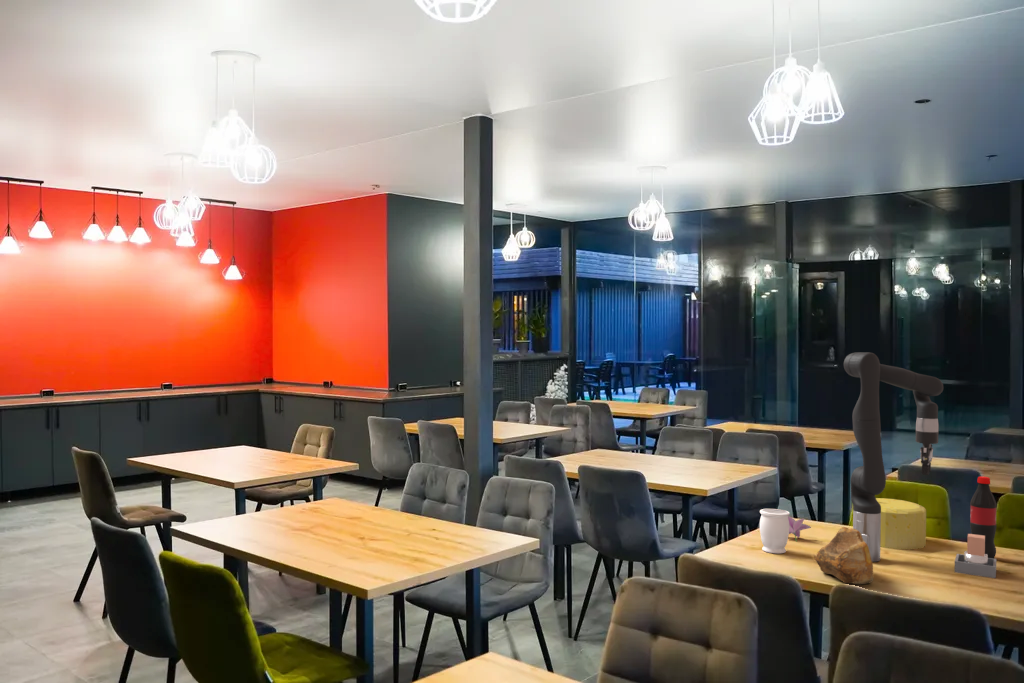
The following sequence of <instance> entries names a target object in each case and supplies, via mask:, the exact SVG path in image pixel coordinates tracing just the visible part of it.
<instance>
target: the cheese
mask: <svg viewBox="0 0 1024 683" xmlns="http://www.w3.org/2000/svg"><path fill="white" fill-rule="evenodd" d="M875 498H876V500H877V501H878V503H879V504H880V505H881V540H880V548H884V549H893V550H919V549H922V547H923V548H925V547H926V546H927V544H926V542H927V509H926V508H925V507H924V506H922V505H919V504H918V503H915V502H911V501H907V500H902V499H896V498H883V497H881V498H878V497H875ZM924 546H925V547H924ZM918 548H919V549H918Z"/></svg>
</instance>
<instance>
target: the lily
mask: <svg viewBox="0 0 1024 683" xmlns="http://www.w3.org/2000/svg"><path fill="white" fill-rule="evenodd" d="M788 520H789V535H790V534H793V536H794V538H795V542H798V541H797V538H800V536H801V531H803V530H808V529H811V528H812V527H811V526H810V525H808V524H806V523H803V522H804V520H805V518H800V519H797V520H796V519H795V518H794V517H792V516H790V515H789V516H788Z"/></svg>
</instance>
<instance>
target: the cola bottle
mask: <svg viewBox="0 0 1024 683" xmlns="http://www.w3.org/2000/svg"><path fill="white" fill-rule="evenodd" d="M990 485H991V477H988V476H983V475H982V476H978V477H977V488H976V490H975V492H974V493H973V495H972V498H971V500H970V501H969V502H970V516H969V518H970V522H969V527H970V534H975V535H983V536H985V553H986V554H987V555H988V558H993V559H995V558H996V555H997V547H996V545H995V537H996V536H995V535H996V531H997V502H996V499H995V497H994V494H993V492H992V491H991V487H990Z"/></svg>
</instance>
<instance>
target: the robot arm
mask: <svg viewBox="0 0 1024 683" xmlns="http://www.w3.org/2000/svg"><path fill="white" fill-rule="evenodd" d="M843 368H844V371H845V372H846V374H848V376H851V377H854V378H859V379H860V394H859V397H858V398H857V399H858V400H856V404H855V406H854V408H853V410H852V432H853V435H854V438H855V441H856V443H857V445H858V447H859V449H860V452H861V455H862V456H861V457H862V465H863V466H862V465H861V466H858V467H856V468H854V469H853V472H852V473H851V476H850V500H851V504H852V506H853V509H852V510H853V511H852V512H853V513H852V515H853V516H852V517H853V518H852V519H853V520H852V529H856V530H858V531H859V532H860V533H861V535H862V538H863V540H864V541H865V543H866V544H867V545H868V548H869V551H870V556H871V561H872V563H874V562H879V561H881V547H880V540H881V505H880V504H879V503H878V501H877V500H876V498H877V497H876V496H877V495H880V494H881V493H883V491H884V489H885V488H886V484H887V483H886V482H887V481H886V480H887V478H886V471H885V466H884V465H885V464H884V460H883V459H884V458H883V448H882V436H881V435H882V429H881V413H880V382H883V383H886V384H889V385H892V386H895V387H898V388H901V389H904V390H908V391H912V394H913V398H914V400H915V404H916V422H915V442H916V443H918V444H922V446H921V447H920V448H919V450H920V463H921V475H923V476H929V474H930V472H931V471H932V466H931V465H932V460H933V452H934V448H933V445H934V444H935V445H937V444H938V443H939V419H938V418H939V406H938V404H937V403H935V402H933V401H932V400H931V397H937V396H939V395H941V393H943V391H944V383H943V382H942V380H941V379H940V378H937V377H936V376H931V375H927V374H922V373H917V372H915V371H912V370H909V369H905V368H902V367H899V366H894V365H886V364H883V363H882V364H881V363H880V359H879V357H878V355H876V354H875V353H873V352H867V351H866V352H860V351H858V352H852V353H849V354H847V355H846V356H845V358H844V361H843Z"/></svg>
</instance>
